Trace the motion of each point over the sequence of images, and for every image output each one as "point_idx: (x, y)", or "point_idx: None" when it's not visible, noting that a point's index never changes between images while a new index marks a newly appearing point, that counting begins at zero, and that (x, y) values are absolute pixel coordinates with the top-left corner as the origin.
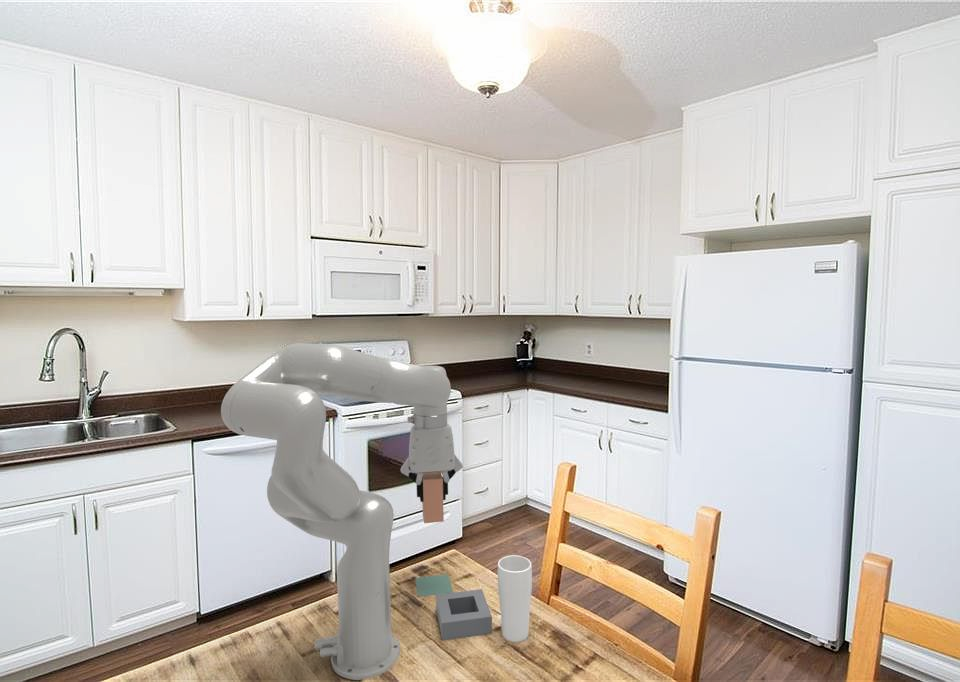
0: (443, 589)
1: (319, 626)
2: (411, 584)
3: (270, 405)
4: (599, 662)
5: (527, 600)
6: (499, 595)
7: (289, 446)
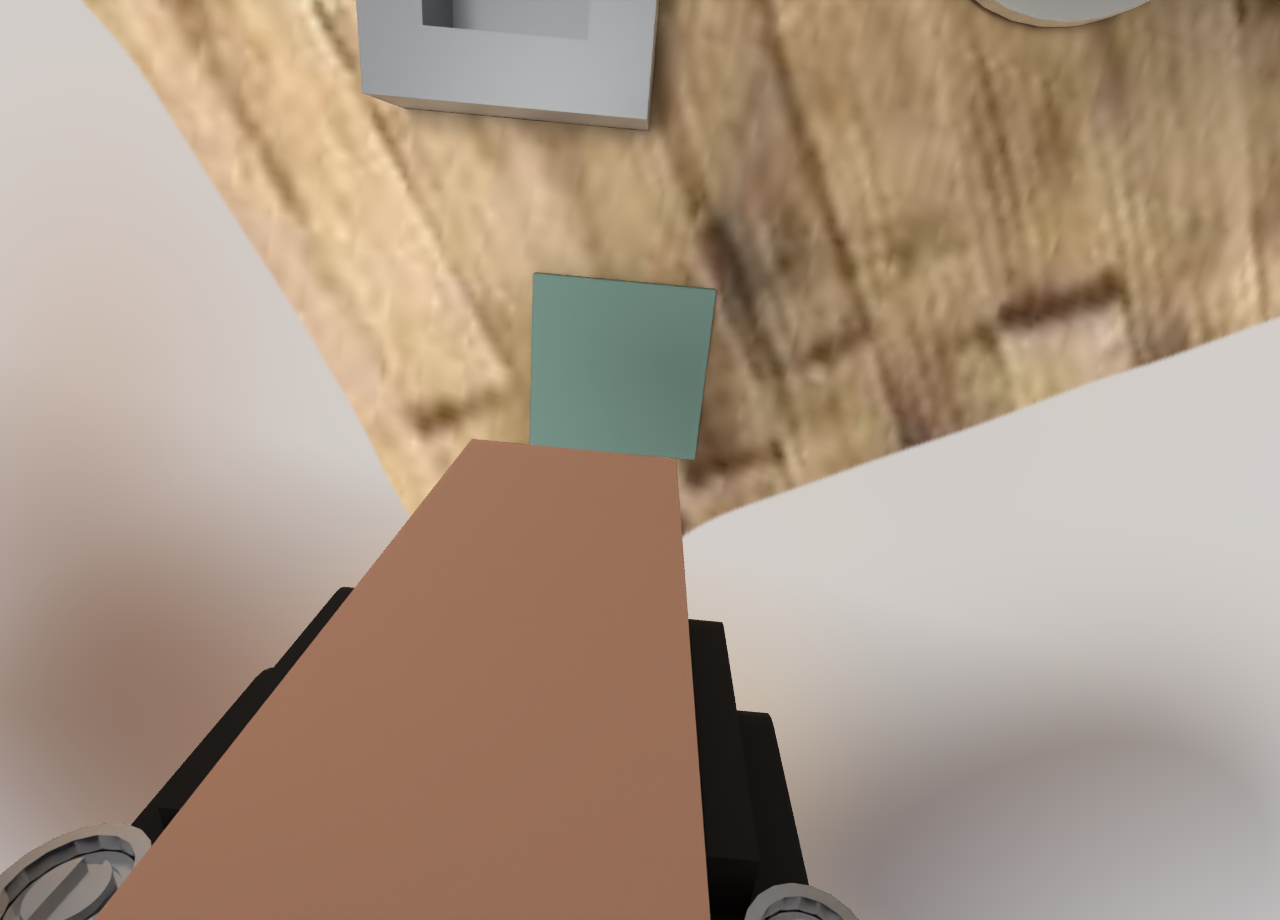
0: (577, 315)
1: (1228, 197)
2: (718, 424)
3: None
4: None
5: None
6: None
7: None
